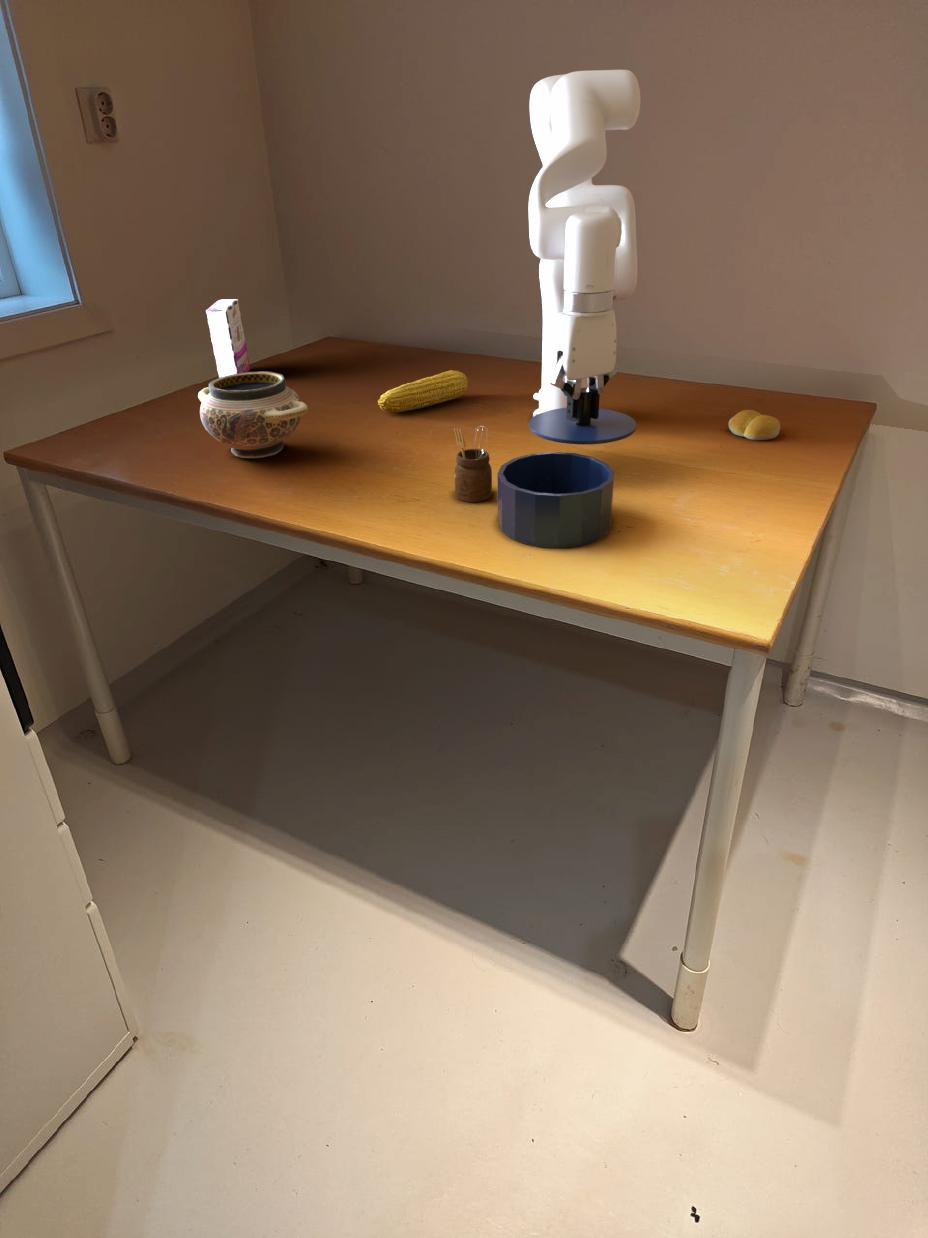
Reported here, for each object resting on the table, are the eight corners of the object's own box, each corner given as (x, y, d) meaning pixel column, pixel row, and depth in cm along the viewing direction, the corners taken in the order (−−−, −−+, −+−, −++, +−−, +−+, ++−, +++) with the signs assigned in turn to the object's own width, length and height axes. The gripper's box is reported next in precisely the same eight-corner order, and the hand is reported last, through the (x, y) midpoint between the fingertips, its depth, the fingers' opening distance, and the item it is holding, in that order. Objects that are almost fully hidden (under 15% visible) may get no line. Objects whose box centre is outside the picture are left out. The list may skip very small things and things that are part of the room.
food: (456, 393, 182) (455, 365, 179) (472, 399, 178) (471, 370, 175) (374, 413, 171) (371, 384, 168) (389, 420, 168) (386, 391, 164)
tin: (477, 517, 128) (476, 467, 124) (563, 491, 135) (565, 444, 131) (542, 559, 116) (544, 505, 112) (633, 528, 123) (638, 477, 119)
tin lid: (508, 426, 142) (508, 386, 138) (589, 407, 150) (591, 369, 146) (573, 456, 129) (575, 413, 125) (658, 433, 137) (662, 392, 133)
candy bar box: (230, 370, 202) (218, 299, 194) (251, 369, 202) (239, 298, 194) (218, 383, 193) (204, 309, 184) (239, 383, 193) (227, 308, 184)
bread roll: (763, 444, 151) (767, 423, 149) (721, 432, 157) (724, 411, 154) (788, 433, 155) (792, 412, 153) (746, 422, 161) (749, 401, 159)
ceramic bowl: (332, 466, 155) (337, 383, 149) (255, 473, 141) (259, 381, 136) (245, 441, 168) (248, 364, 163) (167, 445, 154) (168, 360, 149)
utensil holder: (499, 494, 135) (499, 421, 129) (473, 507, 131) (471, 432, 125) (472, 485, 138) (471, 414, 132) (446, 497, 135) (443, 424, 128)
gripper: (612, 291, 135) (605, 404, 145) (530, 304, 128) (528, 422, 137) (644, 298, 130) (635, 415, 139) (560, 312, 122) (556, 434, 132)
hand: (582, 417), depth 138 cm, fingers closed on tin lid, 2 cm apart
